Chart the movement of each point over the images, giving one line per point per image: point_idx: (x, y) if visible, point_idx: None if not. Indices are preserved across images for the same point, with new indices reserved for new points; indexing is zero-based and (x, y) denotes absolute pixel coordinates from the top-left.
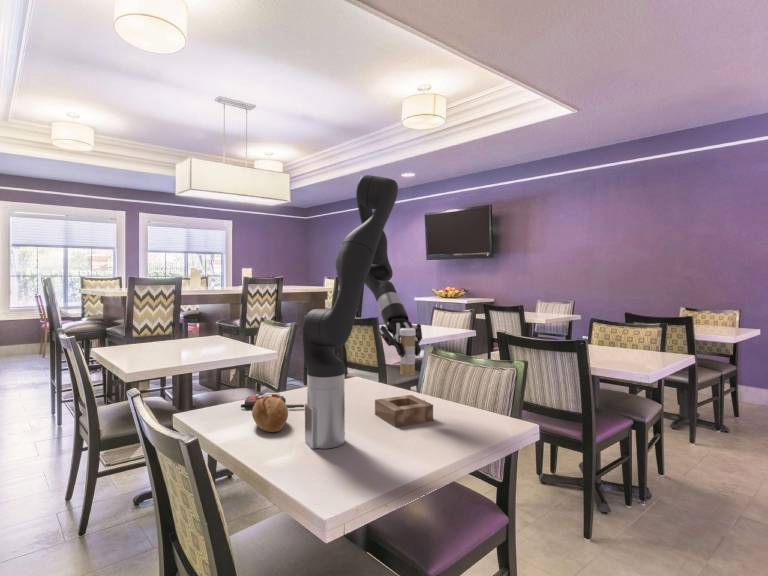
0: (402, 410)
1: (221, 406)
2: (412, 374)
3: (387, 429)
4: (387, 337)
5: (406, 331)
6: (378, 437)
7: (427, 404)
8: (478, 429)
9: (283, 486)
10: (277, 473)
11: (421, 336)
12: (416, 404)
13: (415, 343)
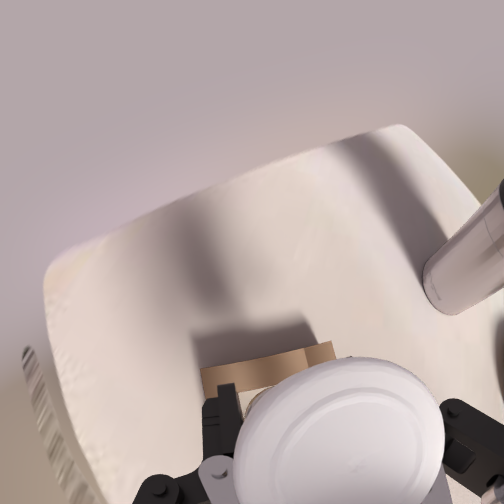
0: (305, 347)
1: None
2: (267, 388)
3: (339, 334)
4: (472, 462)
5: (389, 361)
6: (365, 289)
7: (215, 378)
8: (138, 281)
9: (453, 175)
10: (469, 202)
11: (141, 499)
12: (249, 387)
13: (236, 436)
